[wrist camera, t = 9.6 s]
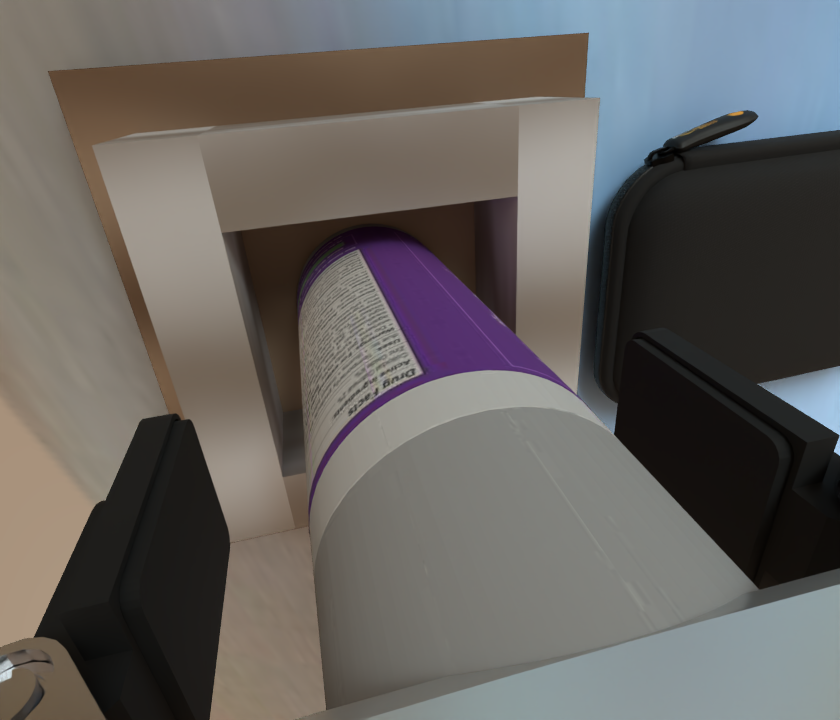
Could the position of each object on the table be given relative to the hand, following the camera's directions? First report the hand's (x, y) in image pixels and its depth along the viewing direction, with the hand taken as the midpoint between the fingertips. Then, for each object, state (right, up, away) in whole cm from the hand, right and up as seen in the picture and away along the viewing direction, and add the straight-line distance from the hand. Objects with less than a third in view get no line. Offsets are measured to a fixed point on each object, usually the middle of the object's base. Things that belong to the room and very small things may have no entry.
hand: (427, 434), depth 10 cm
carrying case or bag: (+13, +6, +11) cm, 18 cm away
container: (-2, +4, +7) cm, 8 cm away
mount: (-2, +4, +8) cm, 9 cm away
